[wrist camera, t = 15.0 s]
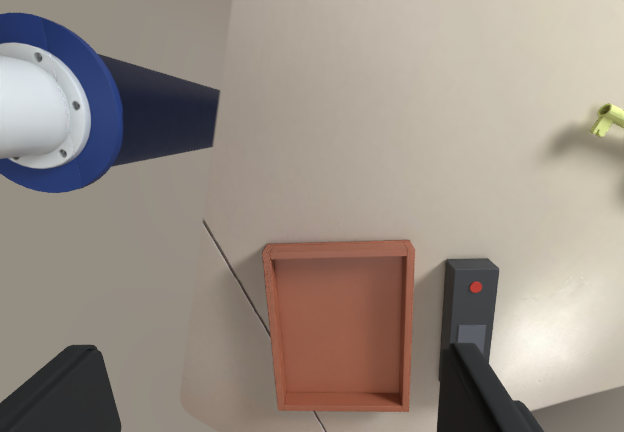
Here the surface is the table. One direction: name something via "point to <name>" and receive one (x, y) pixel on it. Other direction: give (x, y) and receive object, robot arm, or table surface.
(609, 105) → the key
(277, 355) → the tray
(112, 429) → the robot arm
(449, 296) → the tv remote
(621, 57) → the table surface
